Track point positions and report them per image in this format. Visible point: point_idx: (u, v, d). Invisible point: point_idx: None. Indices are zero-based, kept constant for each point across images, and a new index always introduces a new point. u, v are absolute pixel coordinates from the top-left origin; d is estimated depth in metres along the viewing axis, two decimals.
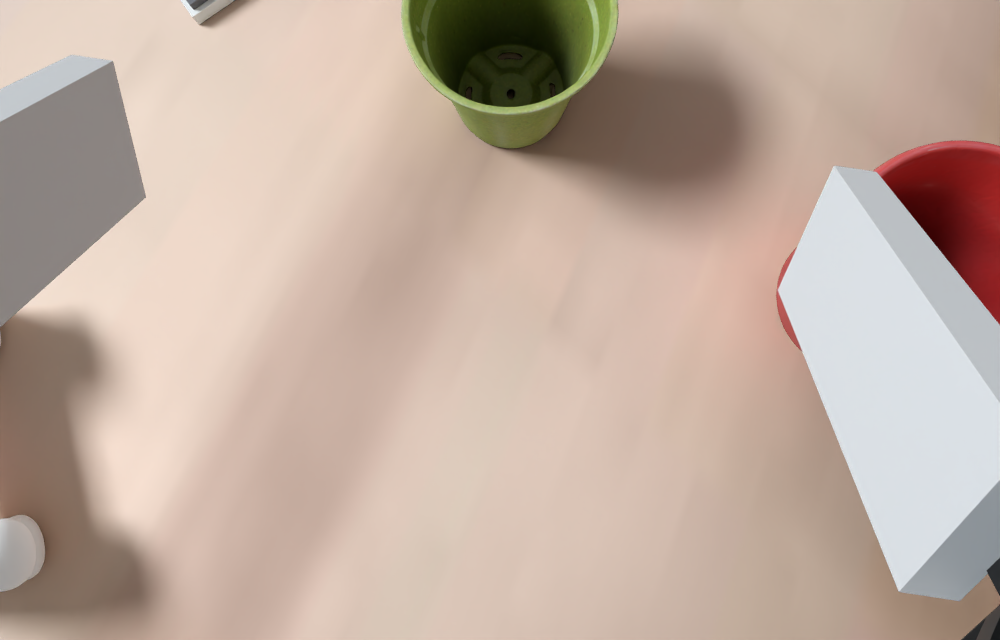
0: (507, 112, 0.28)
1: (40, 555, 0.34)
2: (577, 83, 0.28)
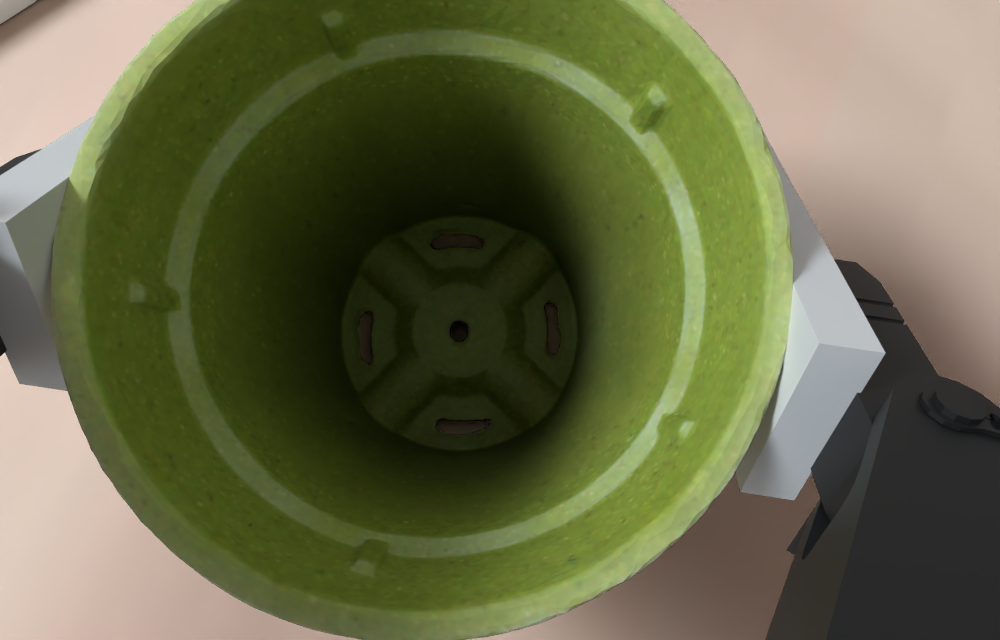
0: (418, 637, 0.08)
1: None
2: (666, 520, 0.08)
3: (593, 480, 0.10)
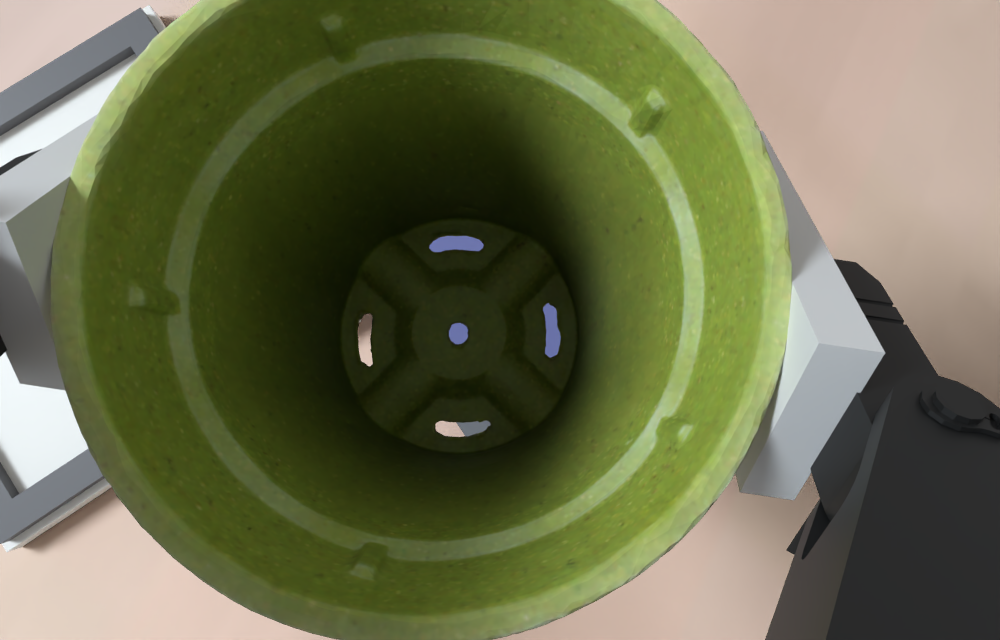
0: None
1: None
2: (664, 524, 0.08)
3: (592, 483, 0.10)
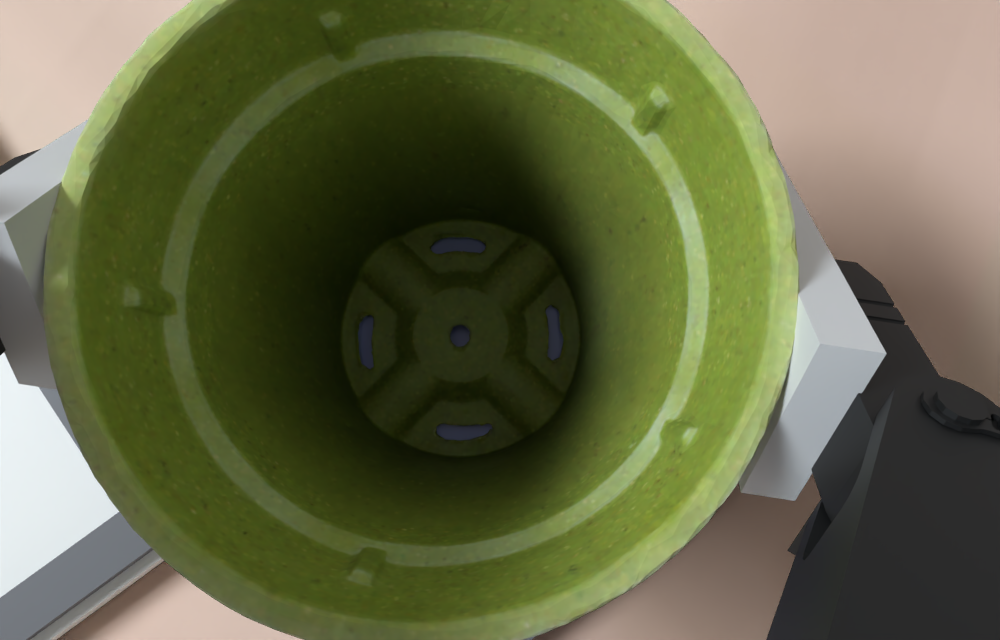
0: None
1: None
2: (668, 530, 0.08)
3: (595, 488, 0.10)
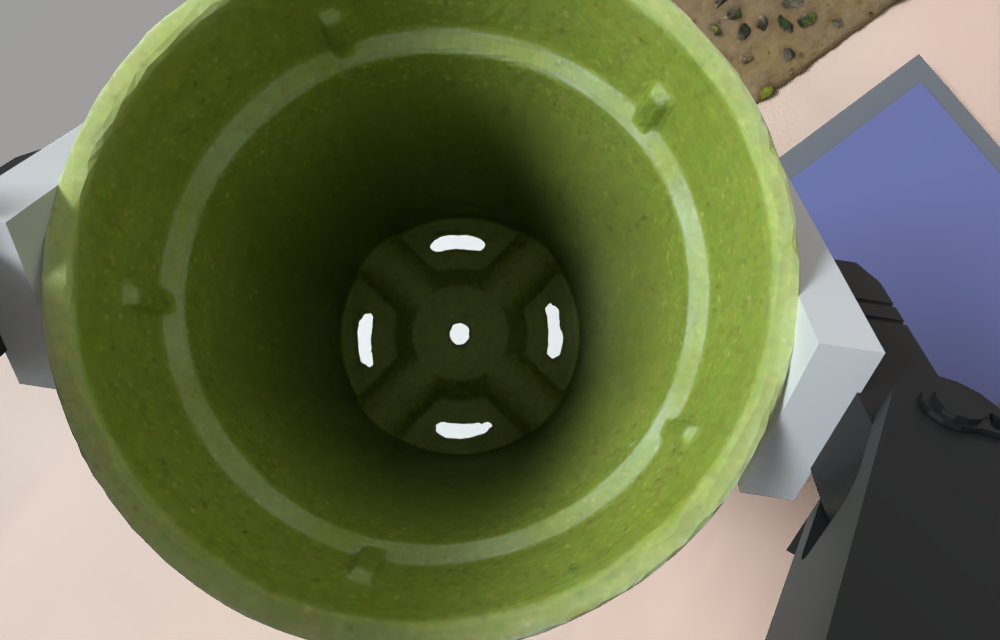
0: None
1: None
2: (669, 529, 0.08)
3: (595, 486, 0.10)
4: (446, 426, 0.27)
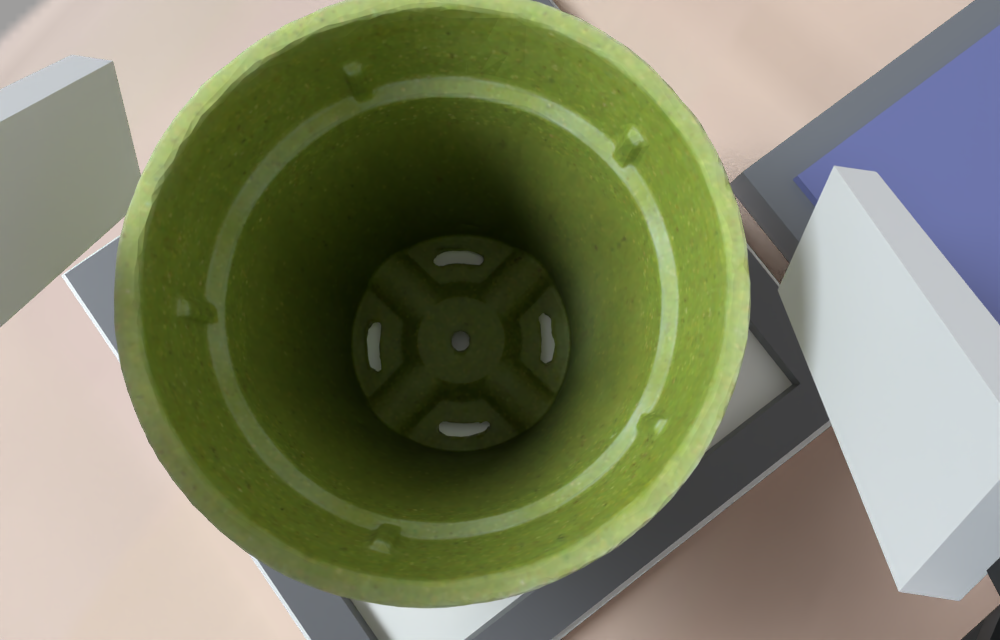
0: (429, 602, 0.09)
1: None
2: (640, 503, 0.09)
3: (580, 472, 0.11)
4: None
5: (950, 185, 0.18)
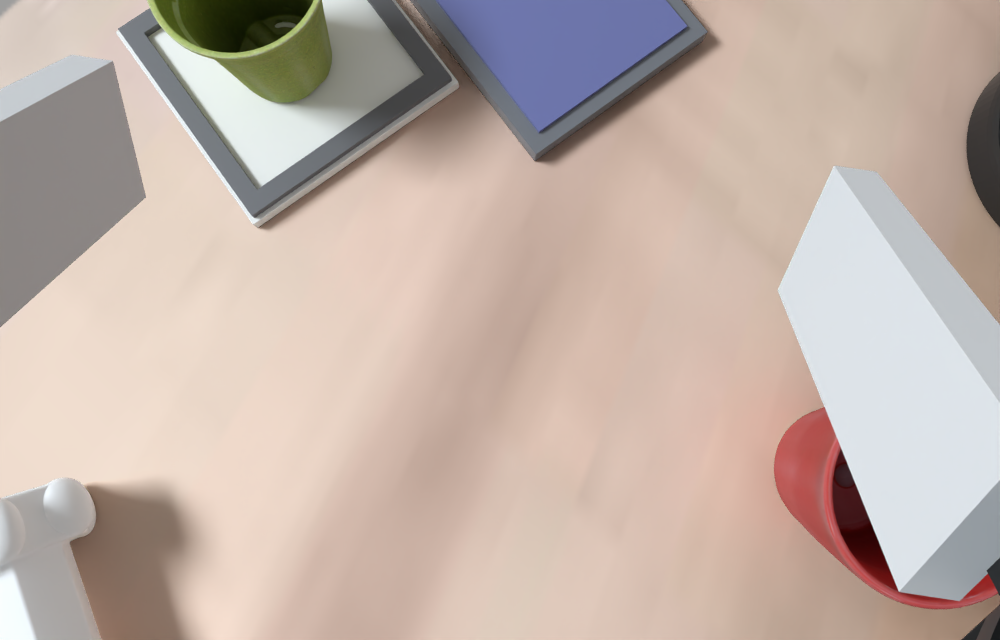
0: (229, 57, 0.34)
1: None
2: (288, 33, 0.34)
3: None
4: None
5: None
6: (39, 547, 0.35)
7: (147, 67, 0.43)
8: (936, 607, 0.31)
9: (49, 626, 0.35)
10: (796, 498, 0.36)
